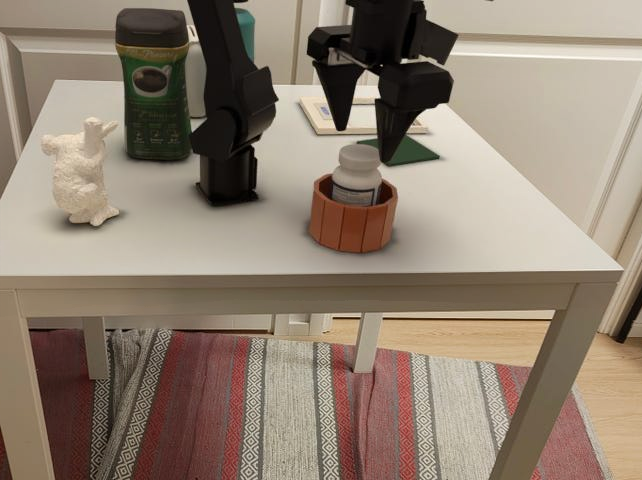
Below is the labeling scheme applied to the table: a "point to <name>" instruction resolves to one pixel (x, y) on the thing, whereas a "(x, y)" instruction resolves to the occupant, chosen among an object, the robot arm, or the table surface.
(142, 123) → the coffee jar
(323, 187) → the pot
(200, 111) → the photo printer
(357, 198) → the pill bottle
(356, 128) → the photo frame
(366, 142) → the mat
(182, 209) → the table surface
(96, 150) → the white animal figurine
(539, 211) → the table surface
